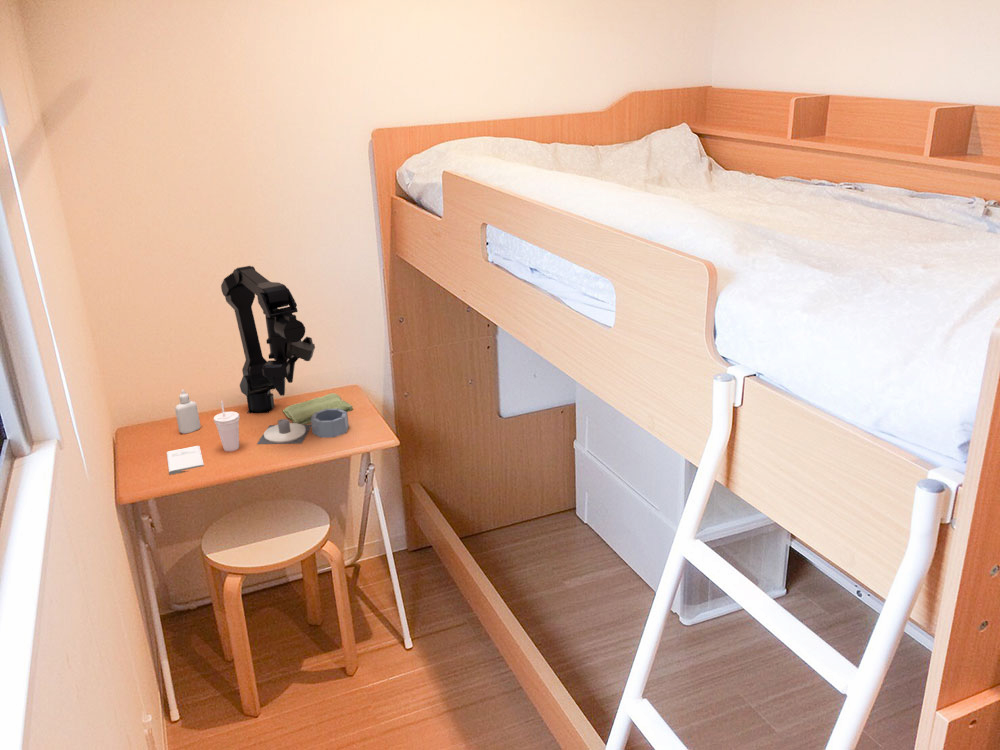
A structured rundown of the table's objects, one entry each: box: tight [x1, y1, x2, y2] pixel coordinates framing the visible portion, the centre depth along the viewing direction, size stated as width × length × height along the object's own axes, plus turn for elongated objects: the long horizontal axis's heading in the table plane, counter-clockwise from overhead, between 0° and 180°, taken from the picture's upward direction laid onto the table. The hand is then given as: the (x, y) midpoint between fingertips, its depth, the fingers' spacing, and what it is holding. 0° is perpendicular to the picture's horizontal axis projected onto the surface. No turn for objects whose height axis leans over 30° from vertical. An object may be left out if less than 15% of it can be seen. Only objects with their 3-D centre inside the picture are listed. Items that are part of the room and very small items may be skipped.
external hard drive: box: [166, 445, 205, 476], centre depth 204 cm, size 2×8×12 cm
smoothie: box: [213, 400, 241, 452], centre depth 207 cm, size 6×6×14 cm
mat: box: [256, 423, 312, 445], centre depth 216 cm, size 12×12×1 cm
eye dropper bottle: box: [174, 389, 202, 435], centre depth 220 cm, size 4×6×12 cm
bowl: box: [310, 409, 349, 439], centre depth 217 cm, size 9×9×5 cm
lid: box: [263, 418, 306, 443], centre depth 216 cm, size 11×11×4 cm
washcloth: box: [282, 392, 354, 425], centre depth 230 cm, size 13×18×3 cm
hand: (286, 388), depth 213 cm, fingers open, 9 cm apart
